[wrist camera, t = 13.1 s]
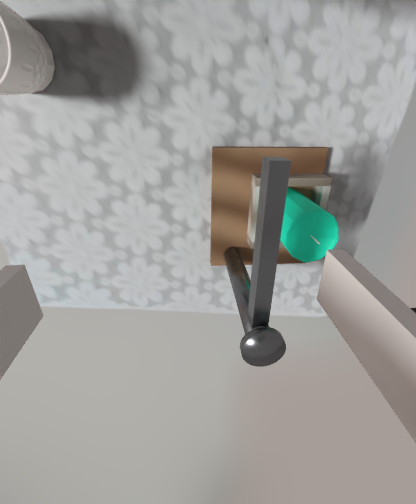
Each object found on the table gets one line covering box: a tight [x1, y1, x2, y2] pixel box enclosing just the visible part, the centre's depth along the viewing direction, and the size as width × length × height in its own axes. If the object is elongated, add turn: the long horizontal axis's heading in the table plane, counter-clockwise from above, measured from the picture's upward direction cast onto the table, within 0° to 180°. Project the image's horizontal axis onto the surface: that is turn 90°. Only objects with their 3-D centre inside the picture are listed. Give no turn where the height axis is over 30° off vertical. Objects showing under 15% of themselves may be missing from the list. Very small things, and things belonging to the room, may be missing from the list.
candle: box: [280, 187, 338, 263], centre depth 34 cm, size 6×6×12 cm
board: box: [210, 147, 333, 266], centre depth 38 cm, size 17×15×4 cm
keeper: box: [224, 157, 291, 366], centre depth 30 cm, size 18×4×19 cm, turn 179°
